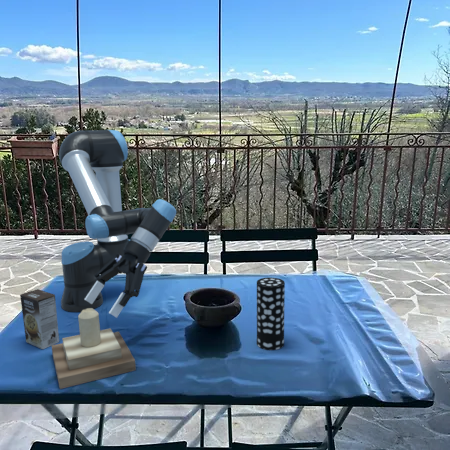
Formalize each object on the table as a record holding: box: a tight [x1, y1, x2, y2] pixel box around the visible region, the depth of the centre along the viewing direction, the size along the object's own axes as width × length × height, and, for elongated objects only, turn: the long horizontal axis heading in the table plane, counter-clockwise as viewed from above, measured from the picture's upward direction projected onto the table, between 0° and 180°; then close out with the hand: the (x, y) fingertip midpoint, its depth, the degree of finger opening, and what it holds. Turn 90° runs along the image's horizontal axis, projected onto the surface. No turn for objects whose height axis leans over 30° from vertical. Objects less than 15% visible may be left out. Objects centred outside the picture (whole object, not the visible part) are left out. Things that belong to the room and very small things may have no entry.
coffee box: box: [19, 288, 60, 350], centre depth 141 cm, size 9×6×16 cm
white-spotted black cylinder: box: [256, 276, 286, 351], centre depth 136 cm, size 8×8×20 cm
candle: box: [77, 308, 101, 347], centre depth 127 cm, size 6×6×10 cm
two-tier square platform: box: [51, 328, 137, 390], centre depth 129 cm, size 20×20×6 cm
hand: (99, 308), depth 128 cm, fingers open, 13 cm apart
